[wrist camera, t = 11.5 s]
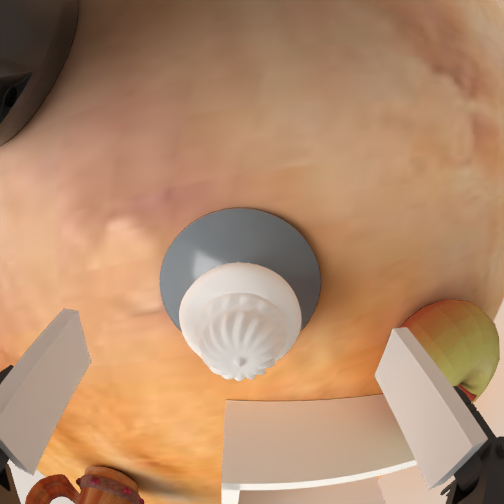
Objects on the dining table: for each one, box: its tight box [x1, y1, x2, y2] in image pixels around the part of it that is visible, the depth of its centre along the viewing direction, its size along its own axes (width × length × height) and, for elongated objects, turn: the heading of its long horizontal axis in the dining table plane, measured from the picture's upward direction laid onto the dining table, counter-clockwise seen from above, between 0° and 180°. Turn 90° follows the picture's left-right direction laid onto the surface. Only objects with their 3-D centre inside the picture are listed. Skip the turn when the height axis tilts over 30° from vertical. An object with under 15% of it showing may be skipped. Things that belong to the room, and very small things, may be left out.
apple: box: [388, 300, 499, 405], centre depth 16 cm, size 10×10×8 cm
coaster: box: [160, 208, 321, 332], centre depth 18 cm, size 10×10×1 cm
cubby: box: [222, 394, 418, 504], centre depth 20 cm, size 13×17×8 cm
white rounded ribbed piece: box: [179, 262, 301, 381], centre depth 14 cm, size 6×6×7 cm
